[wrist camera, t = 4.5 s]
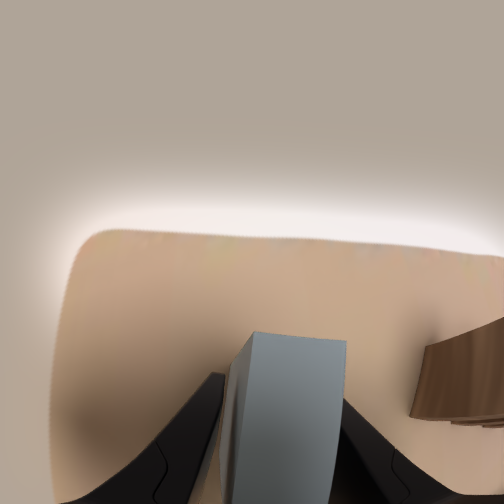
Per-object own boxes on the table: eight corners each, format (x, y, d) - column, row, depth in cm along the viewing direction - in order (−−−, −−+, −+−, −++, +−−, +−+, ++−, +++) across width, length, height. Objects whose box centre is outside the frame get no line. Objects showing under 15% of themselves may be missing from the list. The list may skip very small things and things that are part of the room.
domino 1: (218, 451, 12) (225, 545, 3) (230, 364, 14) (254, 331, 6) (256, 455, 12) (318, 543, 3) (267, 369, 15) (346, 341, 6)
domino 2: (409, 417, 14) (540, 407, 5) (425, 346, 16) (544, 296, 7) (429, 420, 14) (553, 409, 5) (444, 353, 16) (557, 308, 7)
